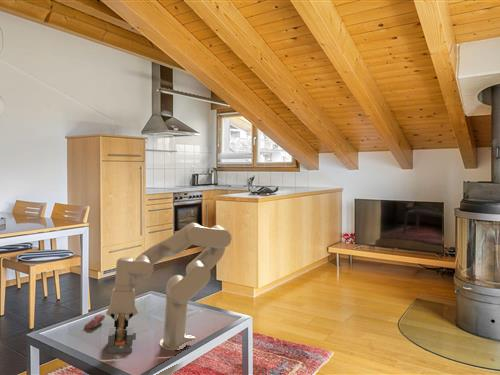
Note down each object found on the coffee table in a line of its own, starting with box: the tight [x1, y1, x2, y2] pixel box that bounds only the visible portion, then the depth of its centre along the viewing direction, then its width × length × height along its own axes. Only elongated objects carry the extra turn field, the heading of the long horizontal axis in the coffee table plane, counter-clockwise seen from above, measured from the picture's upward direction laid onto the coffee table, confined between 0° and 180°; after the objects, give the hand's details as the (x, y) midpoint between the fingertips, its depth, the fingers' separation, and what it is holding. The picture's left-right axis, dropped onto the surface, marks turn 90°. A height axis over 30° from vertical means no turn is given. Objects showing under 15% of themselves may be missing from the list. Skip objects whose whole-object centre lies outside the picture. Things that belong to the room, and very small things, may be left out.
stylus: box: [116, 314, 126, 342], centre depth 169 cm, size 3×3×14 cm
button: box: [114, 338, 126, 346], centre depth 170 cm, size 4×4×2 cm
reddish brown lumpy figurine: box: [83, 313, 106, 330], centre depth 189 cm, size 10×5×7 cm
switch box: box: [106, 326, 134, 354], centre depth 170 cm, size 10×10×7 cm
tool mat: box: [133, 332, 137, 341], centre depth 180 cm, size 7×7×1 cm
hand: (120, 328), depth 169 cm, fingers closed on stylus, 3 cm apart
